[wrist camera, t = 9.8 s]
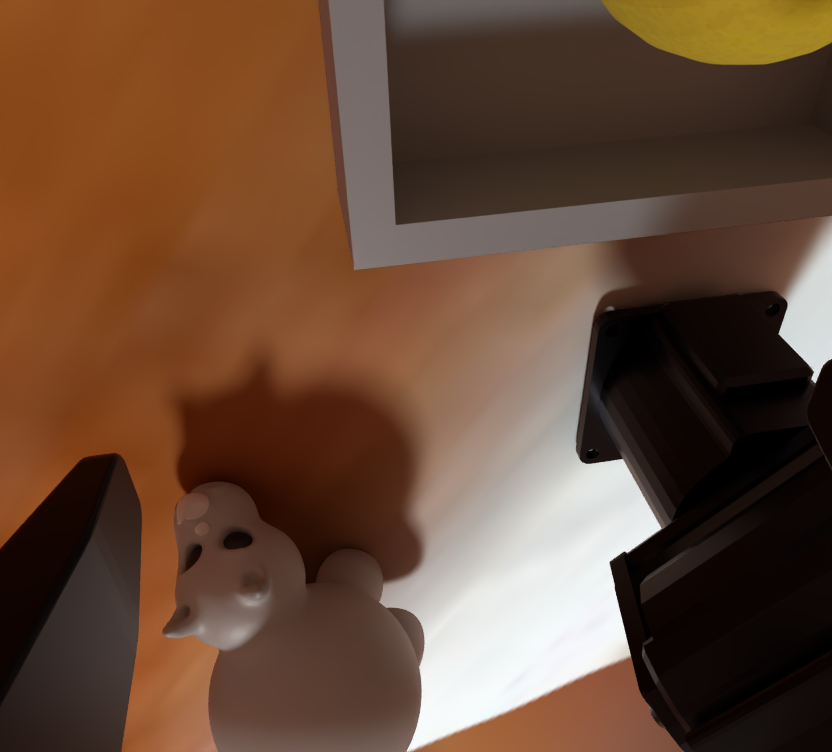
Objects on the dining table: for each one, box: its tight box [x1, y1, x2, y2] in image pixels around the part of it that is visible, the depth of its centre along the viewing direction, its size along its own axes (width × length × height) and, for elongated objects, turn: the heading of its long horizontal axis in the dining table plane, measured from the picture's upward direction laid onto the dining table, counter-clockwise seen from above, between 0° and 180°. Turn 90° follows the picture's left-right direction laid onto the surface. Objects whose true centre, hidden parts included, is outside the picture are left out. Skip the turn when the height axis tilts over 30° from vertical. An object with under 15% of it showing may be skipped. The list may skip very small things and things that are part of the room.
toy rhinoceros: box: [163, 482, 424, 752], centre depth 25 cm, size 7×12×8 cm, turn 24°
